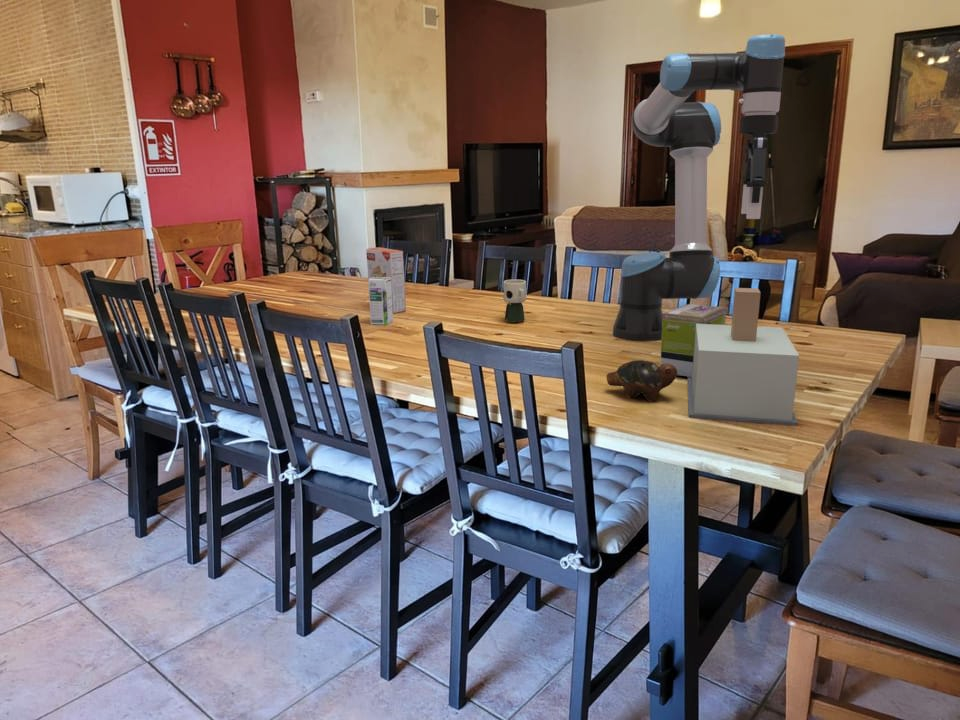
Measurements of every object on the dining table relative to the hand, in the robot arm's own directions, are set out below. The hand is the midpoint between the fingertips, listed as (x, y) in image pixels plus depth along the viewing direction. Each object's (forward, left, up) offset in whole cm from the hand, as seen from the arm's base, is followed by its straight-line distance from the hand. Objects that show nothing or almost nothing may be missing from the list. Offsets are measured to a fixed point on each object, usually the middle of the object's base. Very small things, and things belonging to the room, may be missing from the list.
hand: (750, 216), depth 155 cm
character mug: (-43, -63, -37) cm, 85 cm away
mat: (+19, -1, -37) cm, 41 cm away
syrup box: (-33, -104, -37) cm, 115 cm away
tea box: (-1, -10, -37) cm, 38 cm away
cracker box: (-52, -110, -37) cm, 127 cm away
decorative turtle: (+20, -21, -37) cm, 47 cm away
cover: (+19, -1, -36) cm, 41 cm away
